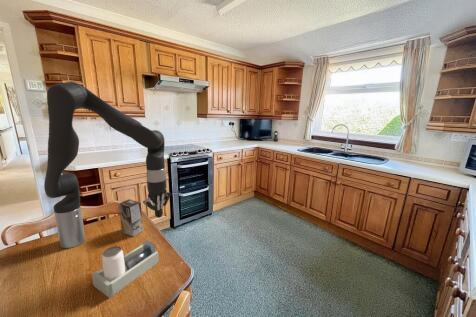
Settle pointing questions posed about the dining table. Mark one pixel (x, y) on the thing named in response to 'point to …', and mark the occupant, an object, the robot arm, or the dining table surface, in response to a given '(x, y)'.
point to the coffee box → (131, 217)
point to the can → (113, 263)
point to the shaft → (141, 255)
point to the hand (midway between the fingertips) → (159, 216)
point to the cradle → (128, 276)
